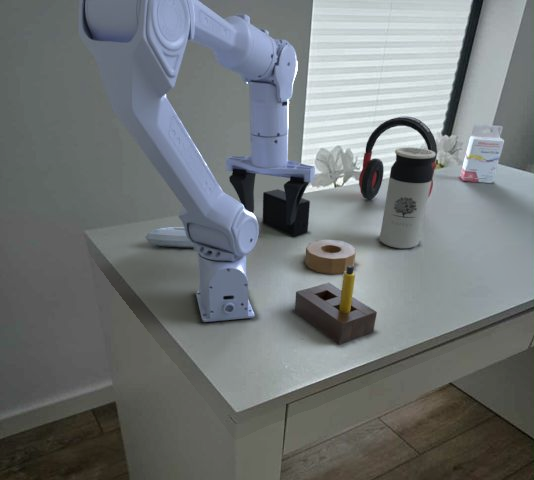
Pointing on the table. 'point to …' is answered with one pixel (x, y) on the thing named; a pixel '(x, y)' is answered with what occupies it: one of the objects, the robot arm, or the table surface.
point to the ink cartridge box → (482, 154)
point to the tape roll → (329, 256)
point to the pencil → (347, 290)
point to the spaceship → (169, 237)
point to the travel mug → (407, 197)
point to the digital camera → (284, 213)
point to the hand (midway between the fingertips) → (269, 218)
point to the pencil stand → (334, 313)
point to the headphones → (374, 167)
